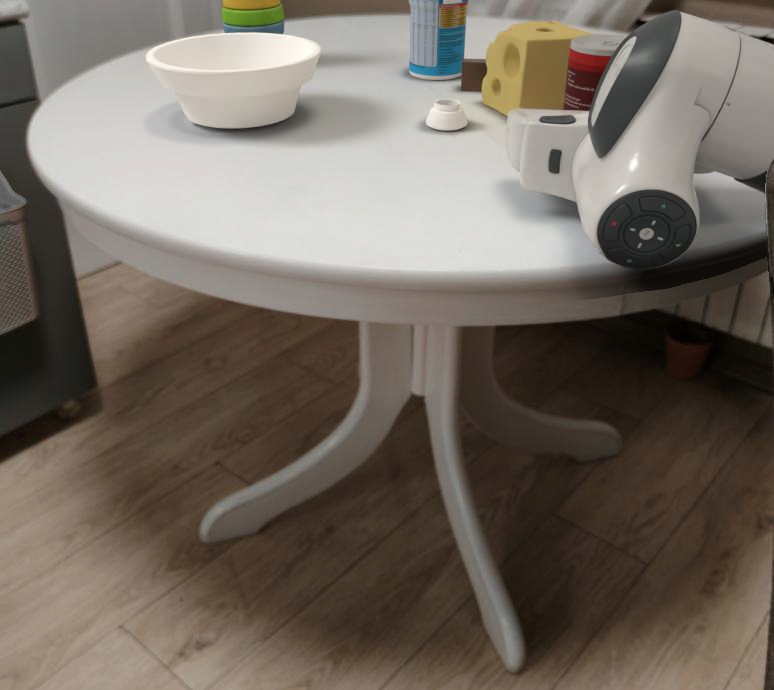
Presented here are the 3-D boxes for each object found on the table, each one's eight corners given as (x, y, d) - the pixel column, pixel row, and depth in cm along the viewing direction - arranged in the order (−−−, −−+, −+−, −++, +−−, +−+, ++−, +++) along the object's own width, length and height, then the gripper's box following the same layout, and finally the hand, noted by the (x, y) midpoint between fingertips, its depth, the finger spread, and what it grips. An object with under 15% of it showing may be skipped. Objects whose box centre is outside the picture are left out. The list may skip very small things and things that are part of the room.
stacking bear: (267, 74, 120) (256, -59, 110) (212, 67, 124) (196, -62, 114) (304, 59, 128) (297, -66, 118) (251, 53, 132) (240, -69, 122)
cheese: (480, 104, 106) (484, 24, 101) (551, 96, 109) (559, 17, 104) (517, 126, 98) (525, 40, 93) (593, 117, 101) (605, 33, 96)
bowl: (346, 100, 108) (344, 36, 104) (288, 151, 91) (283, 77, 86) (203, 90, 113) (195, 28, 108) (123, 136, 96) (110, 65, 91)
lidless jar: (474, 130, 97) (456, 118, 101) (475, 105, 95) (457, 94, 99) (436, 135, 96) (419, 123, 99) (436, 110, 94) (420, 99, 98)
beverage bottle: (402, 80, 117) (403, -75, 106) (414, 66, 124) (416, -81, 113) (459, 83, 115) (466, -74, 104) (469, 69, 122) (476, -80, 111)
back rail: (636, 92, 111) (640, 62, 109) (638, 96, 109) (643, 66, 107) (461, 87, 113) (462, 58, 111) (460, 91, 112) (462, 61, 109)
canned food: (627, 132, 96) (642, 35, 90) (626, 154, 90) (643, 51, 84) (562, 127, 98) (572, 32, 92) (556, 148, 91) (568, 47, 85)
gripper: (750, 129, 69) (715, 86, 80) (509, 120, 71) (509, 80, 83) (733, 198, 72) (702, 148, 84) (504, 188, 74) (504, 140, 86)
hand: (604, 114), depth 83 cm, fingers closed
